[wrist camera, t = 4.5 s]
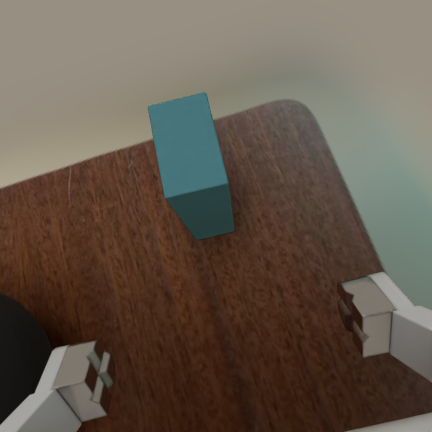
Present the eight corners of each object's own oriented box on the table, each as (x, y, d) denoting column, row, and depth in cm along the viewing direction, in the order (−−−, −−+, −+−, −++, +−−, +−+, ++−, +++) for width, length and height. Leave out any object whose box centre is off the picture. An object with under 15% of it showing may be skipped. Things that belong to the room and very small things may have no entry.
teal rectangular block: (220, 171, 26) (205, 91, 16) (234, 231, 24) (228, 183, 15) (183, 180, 26) (147, 105, 16) (196, 240, 24) (164, 198, 15)
